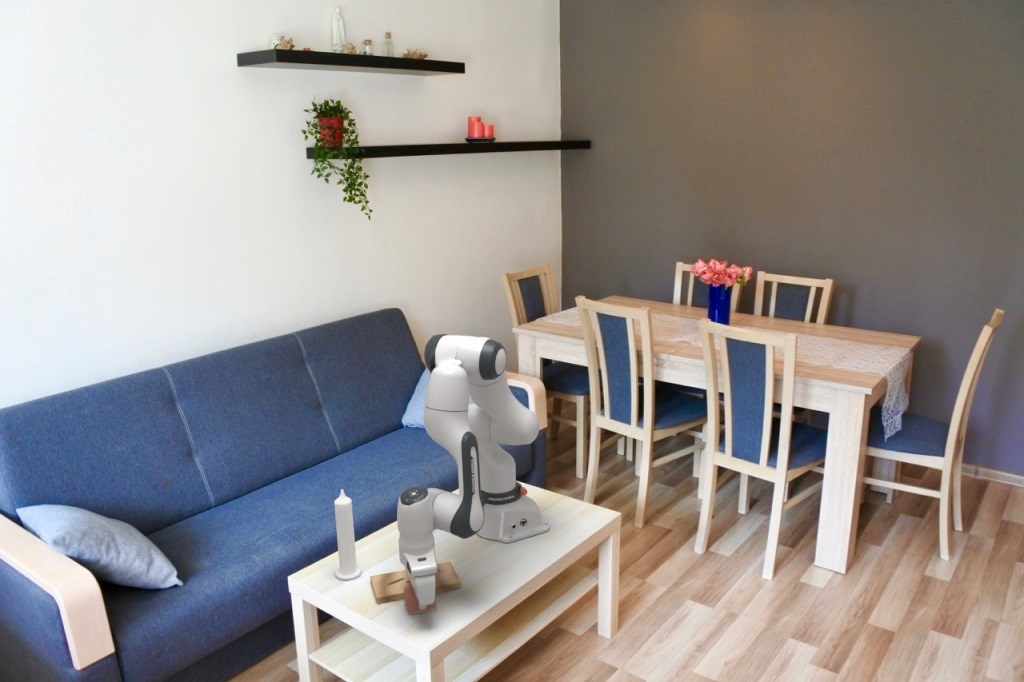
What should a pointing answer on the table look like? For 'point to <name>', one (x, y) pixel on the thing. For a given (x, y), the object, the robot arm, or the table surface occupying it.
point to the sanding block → (414, 602)
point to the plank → (394, 583)
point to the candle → (345, 539)
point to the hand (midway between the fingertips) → (419, 601)
